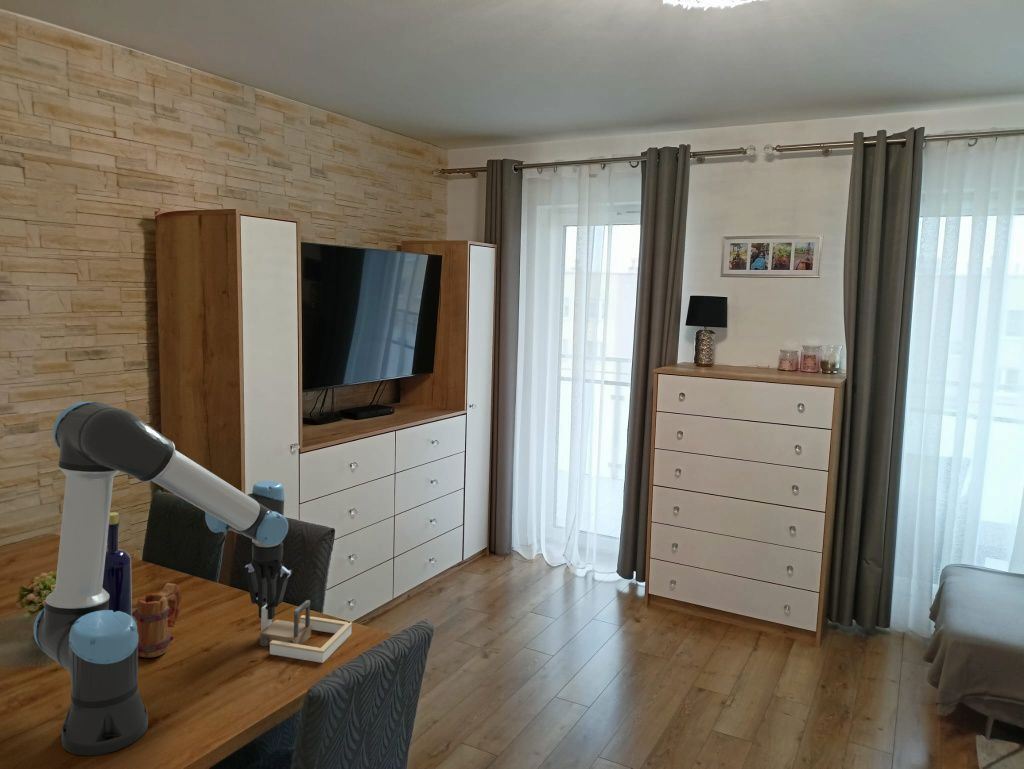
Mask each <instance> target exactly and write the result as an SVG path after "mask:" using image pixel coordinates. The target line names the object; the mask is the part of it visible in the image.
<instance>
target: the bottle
mask: <svg viewBox="0 0 1024 769" xmlns="http://www.w3.org/2000/svg"><path fill="white" fill-rule="evenodd" d="M119 527H120V521H119V512H115V511H114V512H110V517H109V527H108V536H107V546H106V556H105V566H104V576H103V585H102V588H103V589H104V590H105V591H106V592H107V593H109V607H108V610H113V612H117V611H120V612H124V613H126V614H128V615H130V616H131V617H132V618H133V616H132V613H133V609H132V607H133V606H132V605H133V603H132V601H133V600H132V594H133V593H132V556H131V555H130V554H129V552H128V551H127V550H125V549H121V548H119Z"/></svg>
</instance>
